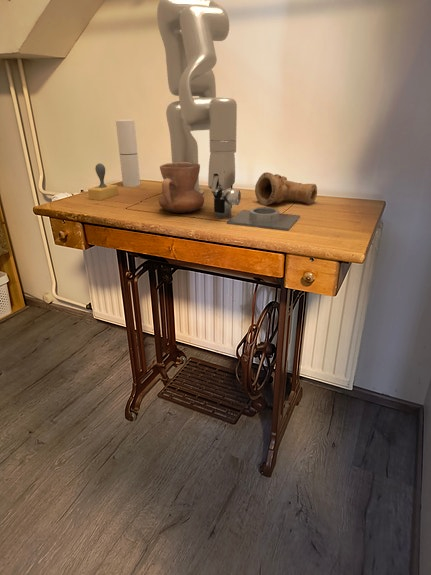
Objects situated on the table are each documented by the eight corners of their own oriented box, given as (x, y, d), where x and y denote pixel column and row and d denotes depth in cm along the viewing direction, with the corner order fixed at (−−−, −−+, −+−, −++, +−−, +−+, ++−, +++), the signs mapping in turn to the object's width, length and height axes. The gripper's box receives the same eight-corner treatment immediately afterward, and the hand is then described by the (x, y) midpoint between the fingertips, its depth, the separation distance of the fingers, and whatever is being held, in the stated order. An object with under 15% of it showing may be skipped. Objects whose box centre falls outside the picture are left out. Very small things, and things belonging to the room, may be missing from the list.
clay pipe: (264, 207, 142) (246, 203, 129) (269, 177, 140) (251, 170, 128) (315, 212, 133) (301, 208, 120) (320, 180, 131) (306, 173, 118)
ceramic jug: (178, 202, 135) (175, 159, 129) (214, 206, 129) (214, 162, 122) (145, 214, 121) (141, 167, 115) (184, 220, 114) (182, 170, 108)
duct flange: (226, 223, 111) (226, 213, 110) (243, 211, 123) (243, 202, 121) (288, 230, 105) (289, 220, 103) (300, 217, 116) (300, 208, 115)
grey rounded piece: (212, 217, 117) (212, 188, 114) (218, 213, 121) (218, 185, 118) (234, 219, 115) (235, 190, 111) (240, 215, 119) (241, 187, 115)
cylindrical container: (120, 186, 160) (112, 120, 149) (126, 183, 166) (119, 119, 156) (136, 187, 159) (130, 120, 148) (142, 183, 165) (136, 119, 154)
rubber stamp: (101, 200, 138) (96, 165, 133) (88, 199, 141) (83, 164, 136) (119, 195, 147) (115, 161, 141) (106, 193, 149) (102, 161, 144)
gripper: (222, 143, 118) (222, 203, 126) (197, 149, 104) (199, 216, 112) (245, 144, 115) (244, 205, 123) (223, 150, 101) (223, 218, 109)
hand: (223, 209), depth 118 cm, fingers closed on grey rounded piece, 4 cm apart
